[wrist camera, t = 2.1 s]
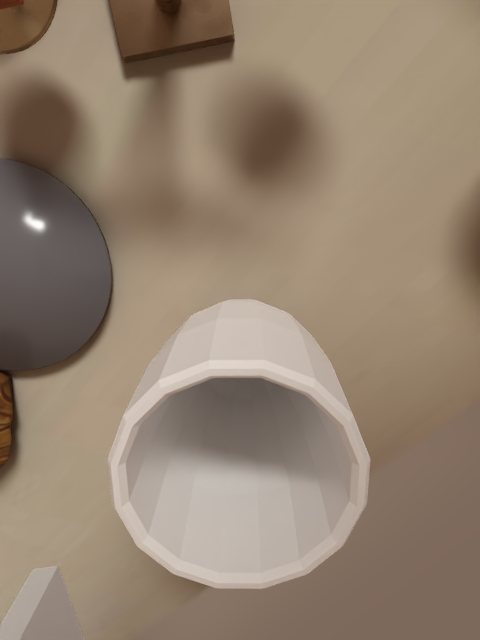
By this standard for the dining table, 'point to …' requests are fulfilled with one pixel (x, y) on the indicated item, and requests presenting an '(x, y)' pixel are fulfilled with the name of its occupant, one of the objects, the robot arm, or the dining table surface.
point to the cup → (239, 451)
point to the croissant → (5, 416)
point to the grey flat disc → (47, 269)
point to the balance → (128, 25)
